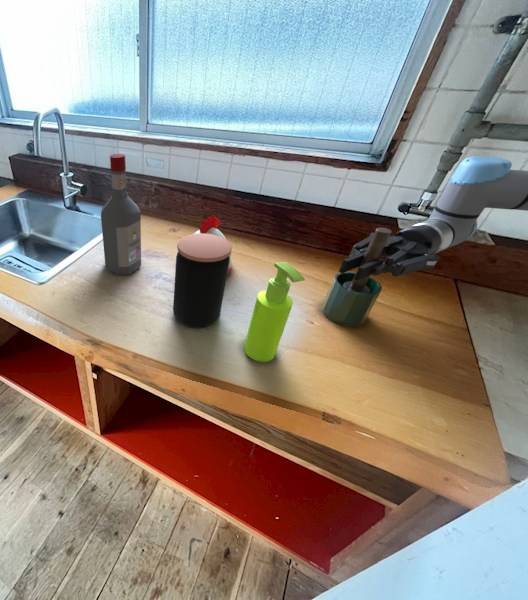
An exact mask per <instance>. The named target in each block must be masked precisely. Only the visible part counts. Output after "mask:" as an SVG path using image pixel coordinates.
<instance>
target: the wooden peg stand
mask: <svg viewBox="0 0 528 600" xmlns="http://www.w3.org/2000/svg"><path fill="white" fill-rule="evenodd" d="M392 232H393V231H392V230H391V229H390V228H387V227H377V228H375V231H374V232H373V233H374V235H373V237H372V239H371V242H370V244H369V246H368V248H367V250H366V252H365V255H364V257H363V259H362V261H361V263H360V265H359V267H360V266H363V265H365V264H368V263H370V262H372V261H375V260H377V259H380V258H381V257H380V255H381V253H382V251H383V249H384V247H385V245H386V243H387V240H388V238H389V236H391V234H392ZM359 267H358V268H359ZM356 273H357V271H356ZM355 275H356V274H355ZM354 277H355V276H354ZM369 277H371V275H370V276H367V277H365V278H363V279H361V280H358V281H356V280H354V278H353V281H349V282H345V283H344V284H343V287H345V288H347V289H349V290H352V291H355V292H359V293H369V292H370V289H369V288H368V287H367V286H366V283H367V281H368V279H369Z"/></svg>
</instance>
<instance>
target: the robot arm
mask: <svg viewBox="0 0 528 600" xmlns="http://www.w3.org/2000/svg"><path fill="white" fill-rule="evenodd" d="M512 166H513V162H512V161H511V160H508V159H506V158H502V157H497V156H487V155H473V156H470V157H469V156H468V157H467V158H464V159H463V160H462V161H461V162H460V163H459V165H458V166H457V167H456V168H455V171H454V172H453V174H452V175H451V177H450V178H449V180H448V182H447V185H446V187H445V188H444V189H443V190H444V191H443V192H442V194H441V196H440V197H439V200H438V201H437V204H436V205H435V206H434V208H433V210H432V211H431V214H430V215H429V217H428V219H427V220H424V221H422V222H419V223H417V224H416V223H415V224H414V225H411V226H409V227H406V228H403V229H401V230H399V231H398V232H396V233H395V234H394V235H392V236H391V235H390V236H389V238H388V240H387V243H386V245H385V247H384V249H383V251H382V253H381V255H380V257H379V259H377V260H375V261H372V262H370V263H368V264H365V265H363V266H360V267H359V265H360V263H361V261H362V259H363V257H364V255H365V252H366V250H367V248H368V246H369V244H370V242H371V239H372V237H373V235H374V233H375V232H371V233H370V235H369V236H368V237H366V238H364V239H363V240H361V241H359V242H356V243H355V244H354V245H353V246H352V248H351V251H350V254H349V255H348V257H347V258H345V259H343V260H342V263H341V265H340V268H339V270H338V273H344V272H350V271H351V270H354V269H356V268H357V270H356V272H357V273H356V275H355V277H354V280H356V281H358V280H361V279H363V278H365V277H367V276H370V277H371V276H374V277H375V276H376V277H377V276H379V275H381V274H387V273H391V276H393V277H401V276H404V275H407V274H412V273H415V272H417V271H420V270H431V269H433V268H434V267H435V265H436V264H437V262H438V261H439V259H440V256H439V255H437V254H438V253H441V252H443V251H445V250H447V249H450V248H451V247H456V246H458V245H460V244H462V243H464V242H465V241H467V240H468V239H469V238H471V237H473V235H474V234H475V233H476V231H477V228H478V221H477V220H478V219H479V217H480V216H481V214H482V213H483V211H484V210H485V209H499V210H515V211H527V212H528V170H526V169H525V170H523V169H511V168H512ZM383 258H385V259H383Z"/></svg>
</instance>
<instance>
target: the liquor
mask: <svg viewBox="0 0 528 600" xmlns="http://www.w3.org/2000/svg"><path fill="white" fill-rule="evenodd" d="M109 160H110V161H109V162H110V171H111V182H112V183H111V185H112V186H111V187H112V191H111V196H110V198H108V200H107V202H106V203H105V204H104V205H103V207H102V208H101V211H100V221H101V232H102V242H103V243H102V244H103V253H104V265H105V269H106V270H107V271H110V272H112V273H114V274H116V275H118V276H127V275H131V274H132V273H134V272H136V270H138V269H140V268H141V266H142V225H141V222H142V221H141V220H142V219H141V218H142V217H141V210H140V208H139V206H138V205H137V204H136V203H135V202H134V200H133V199H131V198H130V197H129V195H128V191H127V179H126V177H127V176H126V170H127V166H126V165H127V164H126V154H125V153H124V154H123V153H114V154H111V155H109Z"/></svg>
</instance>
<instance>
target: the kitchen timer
mask: <svg viewBox="0 0 528 600" xmlns="http://www.w3.org/2000/svg"><path fill="white" fill-rule="evenodd" d="M220 223H221V220H219V218H218V217H216V216H215V215H213V214H211V215H210V216H207V219H206V220H205V219H203V220H202V226H201V225H199V227H198V229H197V231H195V232H194V233H193V234H200V233H204V234H212V235H217V236H220V237H222V238H225V239H226V240H227V237H225V235H224V234H223V233H222V231H221V230H220V229H219V226H220V225H221V224H220ZM229 256H230V261H229V267H228V273H227V275H229V273H230V271H231V267H232V250H231V253H230V255H229Z"/></svg>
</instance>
